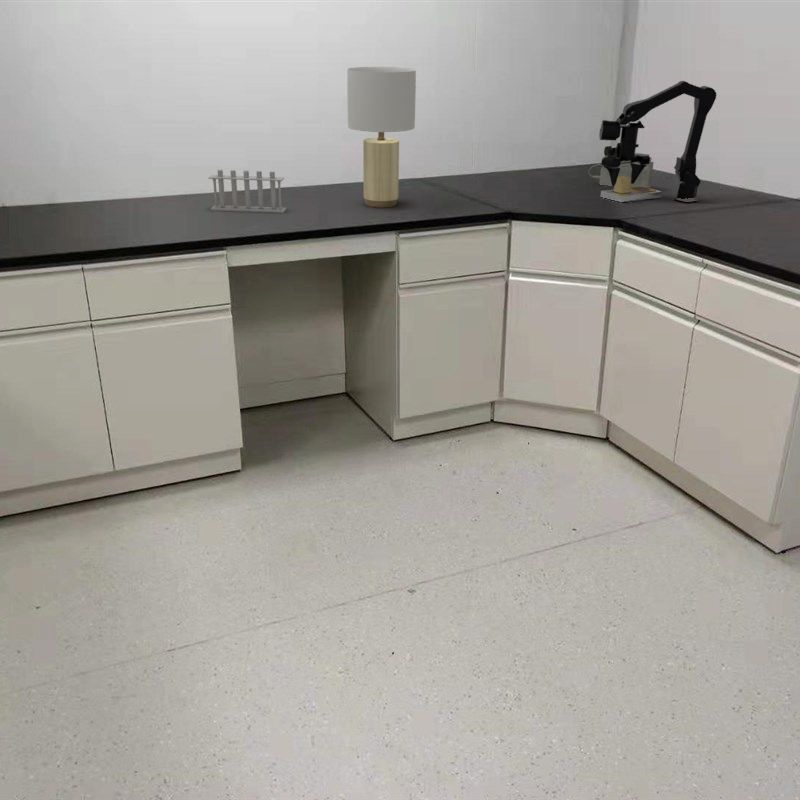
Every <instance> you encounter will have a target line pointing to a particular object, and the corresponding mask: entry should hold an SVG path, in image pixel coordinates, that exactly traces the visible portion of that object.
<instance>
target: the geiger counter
mask: <svg viewBox="0 0 800 800" xmlns="http://www.w3.org/2000/svg"><path fill="white" fill-rule="evenodd" d="M635 154H643V155H647V156H649V157H650V163H649V164H645V165H647V166H646V167H644V169H643V170H642V172H641V173H640V174H639V176H638V178H637V179H636V181H635V182H634V184H631V185H630V187H637V186H643V187H647V188H650V189H651V183H652V175H653V169H654V163H655V162H654V161H652V160H653V159H652V157H651V156H650V154H648V153H641V152H639V153H638V152H635ZM604 157H608V156H605V155H604V156H603V157H602V159H603V158H604ZM602 159H601V160H602ZM596 166H597V167H599V166H600V175H592V174H590V173H591V172H590V171H591V169H593V168H595V167H596ZM618 168H620V171H619V174H618V177H619V176H626V177H630V178H631V173H632V167H631V164H630V163H624V164H620V166H619V167H618ZM587 173H588V175H589V176H590V177H592V178H593V179H595V180H599V183H598V185H599V184H600V185H608V186H612V183H611V179H610V174H609V171H608V170H607V168H604V166H603V165H601V163H598V164H595V165H592V166H590V168H589V169H588V171H587Z"/></svg>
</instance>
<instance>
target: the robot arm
mask: <svg viewBox="0 0 800 800" xmlns="http://www.w3.org/2000/svg"><path fill="white" fill-rule="evenodd" d="M682 95H687V96H688V97H689V96H690V97H692V98H694V101H693V108H694V109H693V111H694V112H693V117H692V122H691V124H690V127H689V132H688V136H687V140H686V143H685V148H684V152H683V153H682V155H681V157H679V156H678V157H676V160H675V161H676V163H675V165H674V167H673V169H674V173H675V175H676V177H678V178H679V186H678V189H677V195H676V198H681V199H685V198H687V199H688V198H695V197H696V198H697V192H698V187H699V186H700V184H701V183H702V182H701V180H700V178H699V177H698V176H697V174H696V172H697V153H698V150H699V146H700V143H701V139H702V134H703V132H704V127H705V124H706V120H707V116H708V114H709V112H710V111H711V109H712V108H713V105H714V103H715V101H716V99H717V92H716V90H715V88H712V87H710V86H708V85H702V86H697V85H695V84H692V83H689V82H688V81H685V80H680V81H678V82H677V83H675V84H674V85H672V86H669V87H667V88H664V90H662V91H660V92H657V93H655V94H653V95H652V96H649V97H647V98H645V99H639V100H636V101H634V102H633V101H632V102H629V103H627V104H626V105H624V107H623V110H622V113H621V114H620V115H619V116H618V117H617V118H616V119H615V120H607V119H602V121H601V125H600V128H599V134H598V135H599V140H600V141H617V139H619V138H620V140H619V142H617V144H616V147H612V146H611V145H607V146H604V149H603V155H604V156H603V157H604V158H603V157H602V158H603V159H601V163H600V164H601V165H603V166H604V168H607V170H608V171H609V174H610V179H611V183H612V186H615V184H616V181H617V178H618V174H619V171H620V168H618V167H619V166H620V164H624V163H630V164H631V167H632V173H631V184H634V182H635V181H636V179H637V178H638V176H639V174H640V173H641V172H642V170H643V169H644V167H646V166H647V165H645V164H649V163H650V157H651V156H650V155H649V156H647V155H643V154H644V153H641V154H635V153H636V148H639V144H638V143H637V142H638V136H639V135H638V134H639V129H644V128H645V125H644V124H643V123H642V121H641V120H640V119H642V118H643V117H645V116H646V115H647V114H649V112H651V111H652V110H653V109H655V108H657V107H660V106H661V105H662V106H663V104H665V103H668V102H670V101H672V100H674V99H676V98H678V97H680V96H682ZM605 156H608V157H605ZM601 165H600V166H601Z"/></svg>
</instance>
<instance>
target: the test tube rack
mask: <svg viewBox="0 0 800 800" xmlns="http://www.w3.org/2000/svg"><path fill="white" fill-rule="evenodd" d="M249 172H250V171H249V170H243V175H237V171H236V170H235V169H231V170H230V172H229V173H230V175H224V171H223V169H217V174H211V175H210V176H208V180H210V179H212V183H213V195H214V205H213V206H212V207H210V211H222V212H223V211H225V212H226V211H227V212H250V213H251V212H252V213H253V212H254V213H281V214H283V213H285V211H286V210H287V208H286V207H283V206H282V189H281V188H282V187H281V182H282V181H283V180H285V176H283V177H279V176H276V172H275V171H274V170H271V171H269V176H263V172H262V170H257V171H256V176H254V175H253V176H250V173H249ZM224 180H230V182H231V183H230V184H231V195H232V196H231V198H232V205H226V197H225V185H224V183H225V182H224ZM239 180H241V181H243V184H244V185H243V186H244V200H245V201H244V203H245V205H244V206H242V205H240V206H239V200H238V199H239V198H238V186H237V181H239ZM216 181H218V182H216ZM250 181H256V185H257V186H256V187H257V202H258V206H252V203H251V188H250V187H251V186H250ZM265 181H268V182H269V186H270V187H269V189H270V204H271V205H270V206H264V189H263V186H264V185H263V182H265ZM276 182H277V188H276ZM217 183H218V191H217ZM276 189H278V207H277V193H276ZM217 193H218V194H217ZM218 195H219V203H218Z"/></svg>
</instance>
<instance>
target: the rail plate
mask: <svg viewBox="0 0 800 800" xmlns="http://www.w3.org/2000/svg"><path fill="white" fill-rule="evenodd" d="M661 195H662V196H663V190H658V189H654V188H651V187H650V188H647V187H643V186H637V187H630V192H629V194H617V193H614V188H612V189H606V190H605V189H604V190H601V191H600V197H603V198H602V199H604V198H607V199H611V200H615V201H619V202H624V201H630V200H636V199H642V198H649V197H655V196H661ZM607 199H606V200H607Z"/></svg>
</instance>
